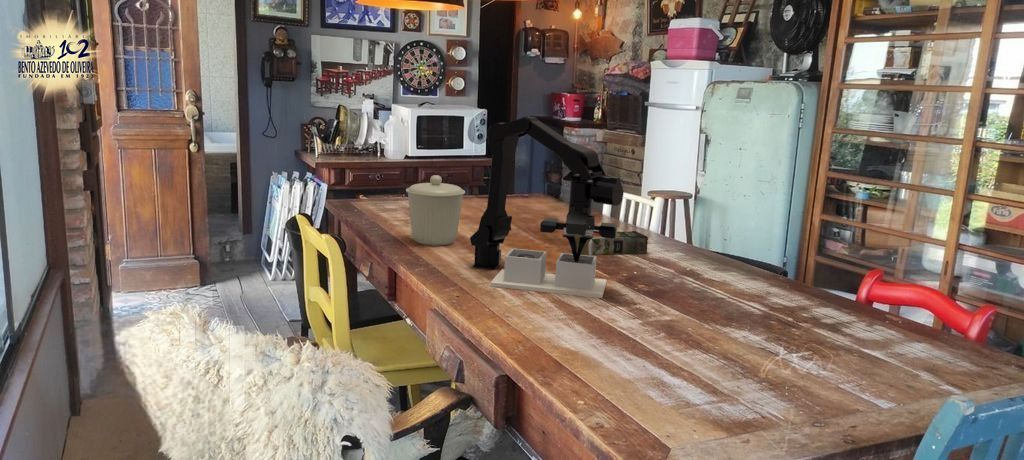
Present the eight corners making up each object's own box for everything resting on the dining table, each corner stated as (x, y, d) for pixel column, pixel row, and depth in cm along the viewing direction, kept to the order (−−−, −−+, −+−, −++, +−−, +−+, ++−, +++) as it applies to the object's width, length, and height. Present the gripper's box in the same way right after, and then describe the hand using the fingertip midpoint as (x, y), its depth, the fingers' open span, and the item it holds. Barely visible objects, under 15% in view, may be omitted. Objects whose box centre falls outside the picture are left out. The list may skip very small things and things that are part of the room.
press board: (490, 286, 182) (491, 257, 181) (502, 272, 196) (503, 245, 194) (602, 298, 177) (604, 268, 176) (606, 283, 191) (608, 255, 189)
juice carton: (587, 256, 220) (589, 236, 219) (575, 249, 229) (576, 229, 228) (647, 255, 226) (649, 236, 225) (633, 248, 235) (634, 229, 234)
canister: (460, 250, 218) (463, 180, 214) (400, 247, 218) (401, 177, 214) (465, 237, 236) (468, 173, 231) (409, 234, 236) (411, 170, 231)
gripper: (538, 202, 175) (534, 265, 178) (616, 208, 171) (611, 272, 174) (545, 195, 185) (541, 255, 189) (619, 201, 182) (614, 261, 185)
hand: (576, 261), depth 184 cm, fingers closed, pressing on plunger
